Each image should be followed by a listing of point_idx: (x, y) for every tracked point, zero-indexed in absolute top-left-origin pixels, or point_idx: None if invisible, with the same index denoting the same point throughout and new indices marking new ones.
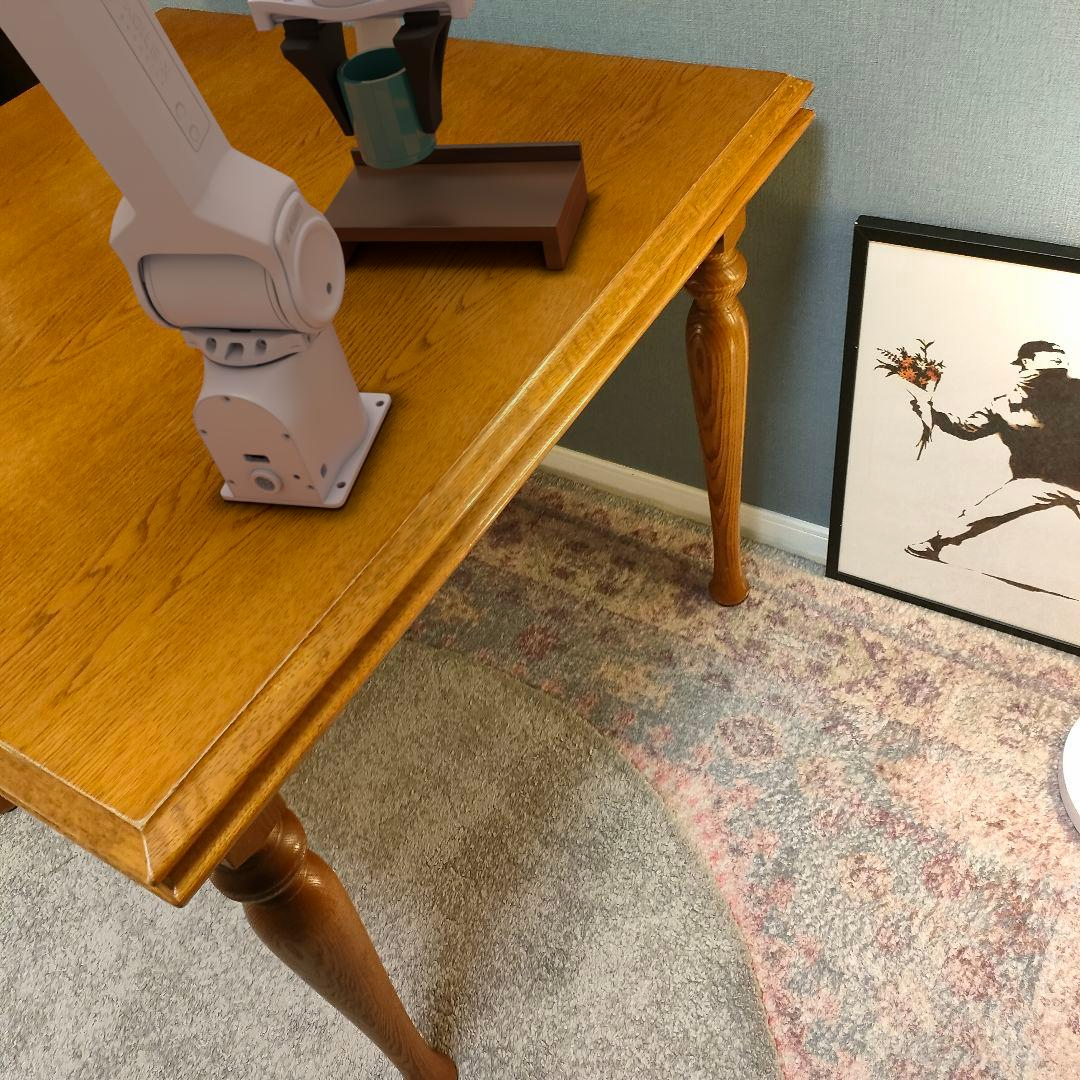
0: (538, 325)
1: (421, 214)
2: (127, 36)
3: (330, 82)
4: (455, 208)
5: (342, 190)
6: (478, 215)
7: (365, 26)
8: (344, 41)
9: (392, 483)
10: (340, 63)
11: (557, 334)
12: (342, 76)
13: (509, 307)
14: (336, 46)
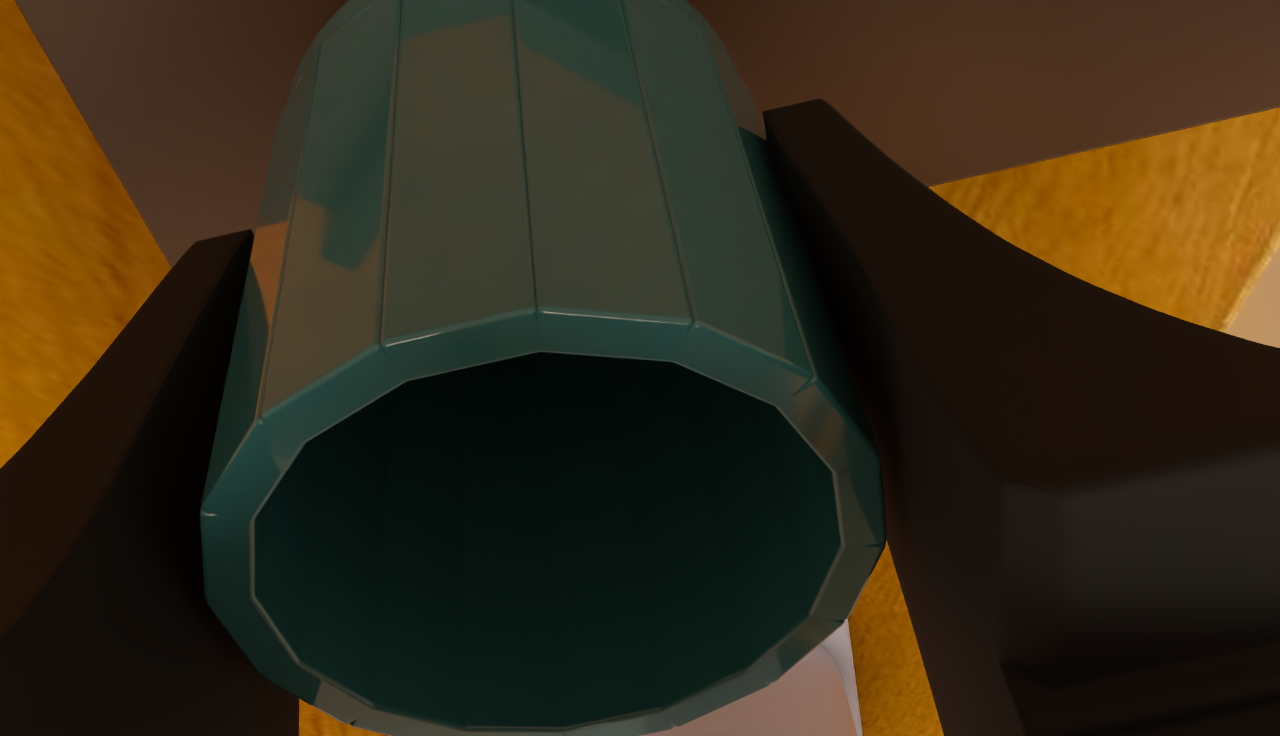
0: (1161, 266)
1: None
2: None
3: (286, 703)
4: (811, 87)
5: (89, 86)
6: (946, 111)
7: None
8: (60, 557)
9: (930, 692)
10: (179, 591)
11: (1227, 283)
12: (395, 722)
13: (1048, 222)
14: (146, 697)
